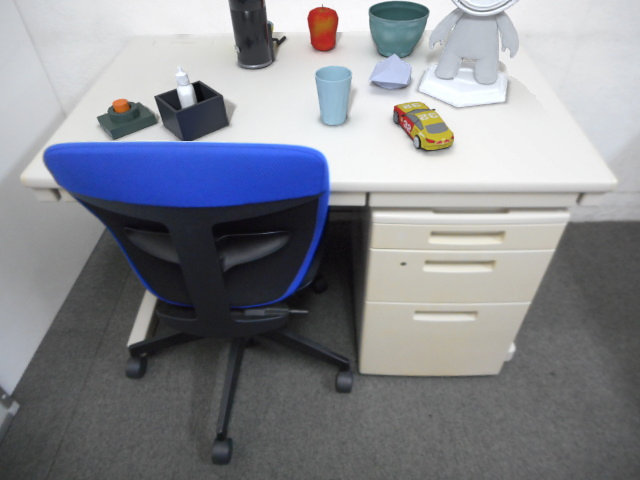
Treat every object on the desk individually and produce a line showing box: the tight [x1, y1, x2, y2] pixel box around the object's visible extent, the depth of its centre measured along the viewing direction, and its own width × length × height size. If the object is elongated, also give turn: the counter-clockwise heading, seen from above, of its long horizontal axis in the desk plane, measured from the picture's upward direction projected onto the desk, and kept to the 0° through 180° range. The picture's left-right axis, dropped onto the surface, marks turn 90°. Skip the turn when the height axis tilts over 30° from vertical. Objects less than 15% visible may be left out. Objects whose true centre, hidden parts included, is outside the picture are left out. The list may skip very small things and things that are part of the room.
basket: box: [153, 80, 230, 142], centre depth 89 cm, size 11×10×7 cm
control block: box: [96, 100, 158, 140], centre depth 91 cm, size 10×8×4 cm
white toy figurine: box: [418, 0, 520, 108], centre depth 89 cm, size 20×23×35 cm
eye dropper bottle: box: [174, 65, 197, 109], centre depth 87 cm, size 4×6×12 cm
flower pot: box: [367, 0, 431, 58], centre depth 114 cm, size 16×16×11 cm
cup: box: [314, 65, 353, 126], centre depth 88 cm, size 8×8×10 cm
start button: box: [111, 98, 130, 113], centre depth 89 cm, size 3×3×2 cm
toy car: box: [392, 101, 455, 151], centre depth 85 cm, size 8×17×5 cm, turn 17°
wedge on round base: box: [368, 54, 413, 90], centre depth 101 cm, size 9×7×13 cm
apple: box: [306, 3, 340, 52], centre depth 116 cm, size 9×8×12 cm
